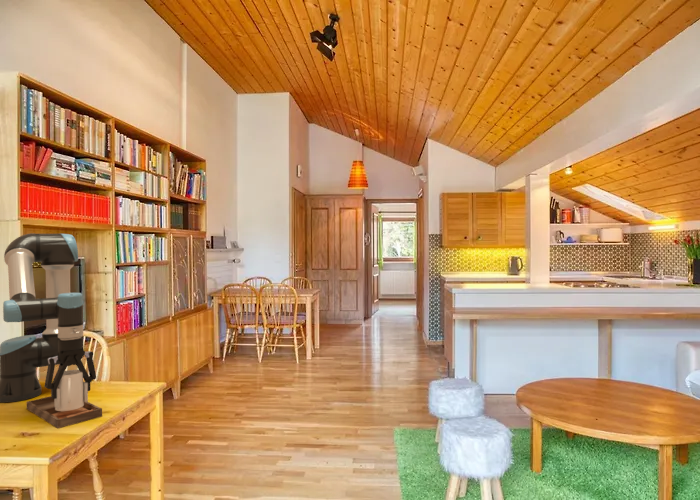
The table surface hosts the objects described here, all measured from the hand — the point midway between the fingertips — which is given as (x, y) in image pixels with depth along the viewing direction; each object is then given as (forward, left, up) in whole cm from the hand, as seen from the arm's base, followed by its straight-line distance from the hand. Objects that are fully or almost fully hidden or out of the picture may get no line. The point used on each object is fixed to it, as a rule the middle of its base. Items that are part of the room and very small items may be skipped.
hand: (71, 404), depth 157 cm
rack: (-7, 0, -4) cm, 9 cm away
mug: (0, -1, -2) cm, 2 cm away
